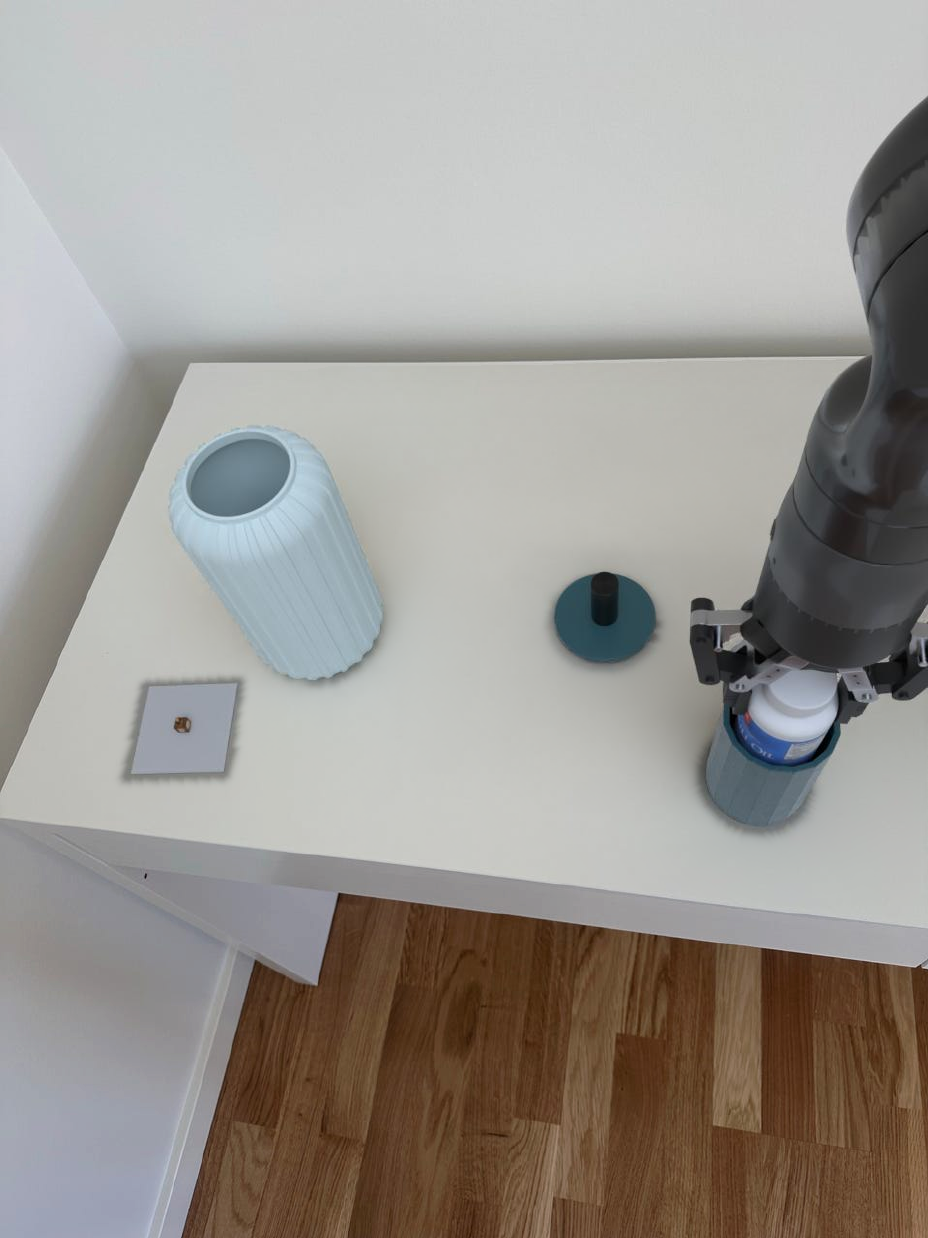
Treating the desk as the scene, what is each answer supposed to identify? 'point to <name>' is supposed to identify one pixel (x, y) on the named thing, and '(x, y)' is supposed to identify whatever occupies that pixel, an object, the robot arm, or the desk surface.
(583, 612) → the lid
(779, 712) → the pill bottle
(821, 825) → the desk surface
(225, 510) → the vase
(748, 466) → the desk surface
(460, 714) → the desk surface
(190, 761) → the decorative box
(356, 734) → the desk surface
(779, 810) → the pot
